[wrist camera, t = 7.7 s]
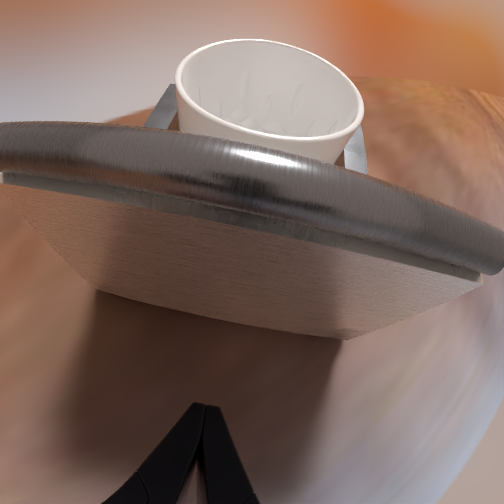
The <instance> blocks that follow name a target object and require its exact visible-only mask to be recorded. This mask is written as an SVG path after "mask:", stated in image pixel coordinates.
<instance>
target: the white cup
mask: <svg viewBox="0 0 504 504" xmlns="http://www.w3.org/2000/svg"><path fill="white" fill-rule="evenodd" d="M175 90H176V100H177V111H178V121H179V131H182V132H188V133H195V134H201V135H207V136H213V137H218V138H224V139H229V140H234V141H240V142H245V143H249V144H254V145H259V146H263V147H268V148H272V149H276V150H281V151H285V152H289V153H293V154H297V155H301V156H305V157H308V158H312V159H316V160H320V161H323V162H327V163H330V164H334V163H335V162H336V160H337V159H338V157H339V156H340V154H341V152H342V151H343V149H344V148H345V146H346V145H347V143H348V142H349V140H350V138H351V137H352V135H353V134H354V132H355V131H356V129H357V128H358V126H359V125H360V123H361V121H362V119H363V115H364V104H363V100H362V97H361V95H360V93H359V91H358V90H357V88H356V87H355V85H354V84H353V83H352V81H351V80H350V79H349V78H348V77H347V76H346V75H345V74H344V73H342V72H341V71H340V70H339V69H338V68H336V67H335V66H334V65H332V64H331V63H329V62H327V61H326V60H324V59H322V58H321V57H318V56H317V55H315V54H313V53H310V52H308V51H305V50H303V49H300V48H297V47H294V46H291V45H287V44H284V43H279V42H274V41H268V40H257V39H235V40H227V41H221V42H216V43H213V44H209V45H206V46H204V47H202V48H199V49H197V50H195V51H194V52H192V53H191V54H189V55H188V56H187V57H186V58H184V60H182V62H181V63H180V64H179V66H178V68H177V70H176V73H175Z"/></svg>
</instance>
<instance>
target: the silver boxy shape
mask: <svg viewBox="0 0 504 504" xmlns="http://www.w3.org/2000/svg"><path fill="white" fill-rule="evenodd" d="M0 172H2V173H1V175H0V188H1V189H2V191H3V192H4V193H5V194H6V196H7V197H8V198H9V199H10V201H11V202H12V203H13V204H14V206H15V207H16V208H17V209H18V210H19V211H20V213H21V214H22V215H23V216H24V217H25V218H26V220H27V221H28V222H29V223H30V224H31V225H32V226H33V227H34V229H35V230H36V231H37V232H38V233H39V234H40V235H41V236H42V237H43V238H44V239H45V240H46V241H47V243H48V244H49V245H50V246H51V247H52V248H53V249H54V250H55V251H56V252H57V253H58V254H59V255H60V256H61V257H62V258H63V259H64V260H65V261H66V262H67V263H68V264H69V265H70V266H71V267H72V268H73V269H74V270H75V271H76V272H78V273H79V274H80V275H81V276H82V277H83V278H84V279H85V280H86V281H87V282H88V283H89V284H90V285H92V286H93V287H94V288H95V289H97V290H100V291H104V292H107V293H111V294H114V295H118V296H122V297H126V298H129V299H133V300H137V301H141V302H145V303H149V304H153V305H157V306H161V307H165V308H169V309H174V310H178V311H182V312H187V313H191V314H196V315H201V316H205V317H210V318H215V319H220V320H225V321H230V322H235V323H240V324H246V325H251V326H257V327H262V328H268V329H274V330H280V331H287V332H293V333H299V334H306V335H313V336H320V337H328V338H336V339H344V340H349V339H352V338H355V337H358V336H361V335H364V334H366V333H369V332H372V331H375V330H378V329H381V328H383V327H386V326H389V325H391V324H394V323H397V322H399V321H402V320H404V319H407V318H410V317H412V316H414V315H417V314H419V313H422V312H424V311H427V310H429V309H431V308H434V307H436V306H438V305H441V304H443V303H445V302H447V301H449V300H452V299H454V298H456V297H458V296H460V295H462V294H465V293H467V292H469V291H471V290H473V289H475V288H477V287H479V286H481V285H483V277H482V273H483V274H486V275H495V274H497V273H499V272H500V271H501V270H502V269H503V267H504V231H502V230H501V229H499V228H497V227H495V226H493V225H491V224H489V223H487V222H485V221H483V220H481V219H478V218H476V217H474V216H472V215H470V214H468V213H465V212H463V211H461V210H459V209H456V208H454V207H452V206H449V205H447V204H445V203H442V202H440V201H437V200H435V199H432V198H430V197H427V196H425V195H422V194H420V193H417V192H415V191H412V190H409V189H407V188H404V187H401V186H398V185H396V184H393V183H390V182H387V181H384V180H381V179H378V178H375V177H372V176H369V175H368V171H367V162H366V155H365V147H364V140H363V133H362V127H361V125H359V126H358V128H357V129H356V131H355V132H354V134H353V135H352V137H351V138H350V140H349V142H348V143H347V145H346V146H345V148H344V149H343V151H342V152H341V154H340V156H339V157H338V159H337V160H336V162H335V163H334V164H330V163H327V162H323V161H320V160H316V159H312V158H308V157H305V156H301V155H297V154H293V153H289V152H285V151H281V150H276V149H272V148H268V147H263V146H259V145H254V144H249V143H245V142H240V141H234V140H229V139H224V138H218V137H213V136H207V135H201V134H195V133H188V132H182V131H179V121H178V111H177V100H176V90H175V84H170V85H169V87H168V88H167V90H166V91H165V93H164V94H163V96H162V97H161V99H160V100H159V102H158V103H157V105H156V107H155V108H154V110H153V111H152V113H151V115H150V116H149V118H148V119H147V121H146V123H145V124H144V126H143V127H142V126H132V125H121V124H108V123H90V122H65V121H28V122H27V121H26V122H4V123H0Z"/></svg>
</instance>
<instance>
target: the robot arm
mask: <svg viewBox="0 0 504 504" xmlns="http://www.w3.org/2000/svg"><path fill="white" fill-rule="evenodd" d="M197 457H198V458H197ZM196 462H197V504H260V502H259V500H258V498H257V496H256V494H255V493H254V490H253V488H252V485H251V483H250V481H249V479H248V476H247V474H246V472H245V469H244V467H243V465H242V462H241V460H240V457H239V455H238V453H237V450H236V448H235V445H234V443H233V440H232V438H231V435H230V433H229V430H228V427H227V425H226V422H225V420H224V417H223V414H222V412H221V409H220V407H218V406H213V405H207V406H206V405H205V404H202V403H197V402H194V403H192V404H191V406H190V407H189V408H188V409H187V411H186V412H185V413H184V414H183V416H182V417H181V418H180V419H179V421H178V422H177V423H176V424H175V425H174V427H173V428H172V429H171V430H170V431H169V433H168V434H167V435H166V436H165V437H164V439H163V440H162V441H161V442H160V443H159V445H158V446H157V447H156V448H155V449H154V451H153V452H152V453H151V454H150V455H149V456H148V458H147V459H146V460H145V461H144V462H143V463H142V464H141V466H140V467H139V468H138V469H137V472H134V473H133V475H132V476H131V477H130V478H129V479H128V480H127V481H126V482H125V483H124V484H123V485H122V486H121V487H120V488H119V489H118V490H117V491H116V492H115V493H114V494H113V495H111V496H110V497H109V498H108V499H107V500H105V501H104V502H103V503H101V504H184V501H185V497H186V494H187V491H188V488H189V485H190V482H191V479H192V476H193V472H194V469H195V466H196Z"/></svg>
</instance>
